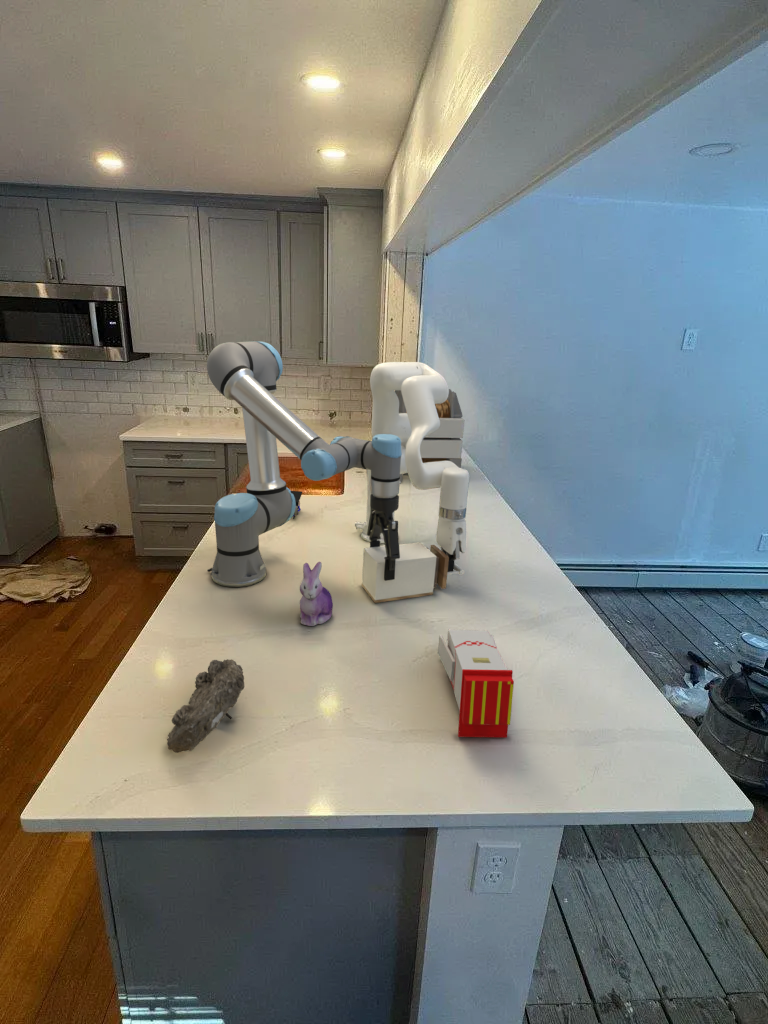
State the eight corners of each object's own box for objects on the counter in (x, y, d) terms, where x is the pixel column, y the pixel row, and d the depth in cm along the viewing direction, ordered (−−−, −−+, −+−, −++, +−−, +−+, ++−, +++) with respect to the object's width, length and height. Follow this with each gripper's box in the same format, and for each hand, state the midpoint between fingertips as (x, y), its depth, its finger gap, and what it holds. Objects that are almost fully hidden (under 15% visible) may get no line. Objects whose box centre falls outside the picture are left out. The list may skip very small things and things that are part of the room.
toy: (488, 613, 130) (523, 677, 101) (484, 667, 133) (517, 744, 104) (435, 612, 130) (455, 676, 101) (432, 666, 133) (451, 743, 103)
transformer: (382, 463, 289) (386, 382, 275) (445, 464, 293) (451, 384, 279) (390, 482, 257) (394, 392, 243) (460, 483, 261) (468, 394, 247)
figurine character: (298, 524, 207) (303, 507, 221) (298, 506, 204) (302, 489, 217) (280, 524, 207) (285, 506, 220) (279, 505, 204) (285, 488, 217)
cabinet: (417, 578, 167) (420, 542, 164) (432, 594, 158) (436, 556, 154) (361, 585, 161) (363, 548, 157) (374, 603, 152) (377, 563, 148)
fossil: (192, 660, 117) (244, 628, 112) (224, 691, 120) (276, 661, 115) (142, 746, 98) (202, 712, 93) (182, 779, 101) (242, 748, 96)
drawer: (448, 572, 170) (451, 542, 167) (463, 586, 162) (466, 555, 159) (380, 581, 162) (382, 550, 159) (393, 596, 154) (395, 563, 151)
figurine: (305, 631, 137) (304, 575, 132) (291, 611, 146) (290, 558, 141) (340, 623, 142) (342, 569, 137) (325, 604, 150) (326, 552, 145)
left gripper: (416, 507, 140) (411, 587, 147) (381, 480, 159) (379, 552, 167) (388, 509, 137) (384, 591, 144) (356, 482, 157) (355, 555, 164)
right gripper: (477, 519, 153) (471, 581, 159) (451, 502, 166) (447, 559, 172) (452, 522, 150) (447, 584, 156) (428, 504, 163) (424, 562, 169)
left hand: (381, 570), depth 156 cm, fingers closed on cabinet, 10 cm apart
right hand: (447, 571), depth 164 cm, fingers closed
